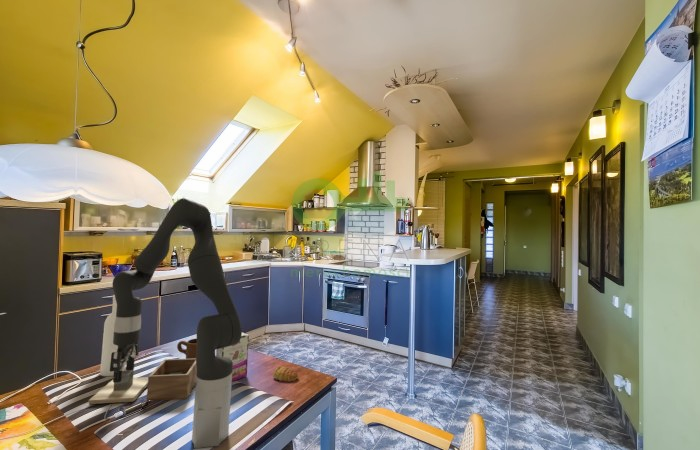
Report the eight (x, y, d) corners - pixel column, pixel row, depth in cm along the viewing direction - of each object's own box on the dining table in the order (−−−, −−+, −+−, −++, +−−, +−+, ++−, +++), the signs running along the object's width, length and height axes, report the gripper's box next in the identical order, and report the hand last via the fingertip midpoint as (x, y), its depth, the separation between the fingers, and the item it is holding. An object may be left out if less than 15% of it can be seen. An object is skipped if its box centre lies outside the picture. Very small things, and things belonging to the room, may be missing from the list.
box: (186, 399, 102) (188, 374, 102) (146, 401, 99) (148, 376, 100) (197, 379, 116) (199, 358, 116) (162, 381, 113) (164, 359, 113)
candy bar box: (239, 372, 123) (242, 331, 124) (247, 376, 120) (249, 334, 121) (213, 382, 114) (216, 338, 115) (220, 386, 111) (223, 341, 112)
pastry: (300, 376, 123) (301, 367, 123) (293, 384, 116) (293, 374, 116) (279, 372, 125) (280, 363, 125) (271, 380, 119) (271, 370, 119)
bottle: (119, 376, 115) (125, 296, 116) (95, 377, 114) (101, 296, 115) (129, 367, 123) (135, 292, 124) (107, 368, 121) (113, 292, 123)
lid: (133, 403, 98) (135, 381, 99) (88, 406, 96) (90, 384, 96) (152, 382, 112) (153, 363, 113) (113, 384, 110) (114, 364, 110)
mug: (170, 366, 126) (172, 343, 126) (181, 358, 134) (182, 337, 134) (199, 367, 126) (201, 344, 126) (208, 360, 133) (209, 338, 134)
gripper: (129, 334, 99) (125, 385, 98) (148, 322, 113) (145, 366, 112) (103, 335, 97) (99, 387, 96) (125, 322, 111) (122, 367, 110)
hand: (123, 376), depth 104 cm, fingers open, 8 cm apart
